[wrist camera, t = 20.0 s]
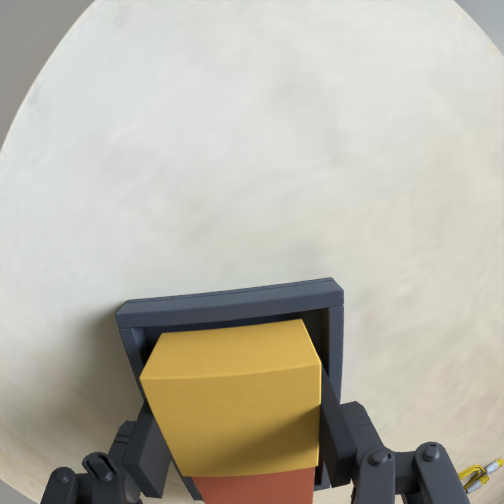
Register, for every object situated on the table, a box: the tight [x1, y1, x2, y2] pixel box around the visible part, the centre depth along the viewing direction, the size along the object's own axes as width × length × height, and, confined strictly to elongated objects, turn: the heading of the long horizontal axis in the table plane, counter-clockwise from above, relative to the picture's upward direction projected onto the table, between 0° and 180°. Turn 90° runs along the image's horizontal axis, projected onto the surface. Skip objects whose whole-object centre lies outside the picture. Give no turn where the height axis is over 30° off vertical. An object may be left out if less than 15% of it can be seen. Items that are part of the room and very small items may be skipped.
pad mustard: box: [139, 319, 321, 477], centre depth 13 cm, size 7×7×4 cm
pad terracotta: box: [192, 467, 315, 504], centre depth 15 cm, size 7×7×4 cm
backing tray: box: [115, 277, 344, 501], centre depth 16 cm, size 18×11×2 cm, turn 6°
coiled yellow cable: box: [458, 458, 504, 494], centre depth 23 cm, size 12×16×2 cm
